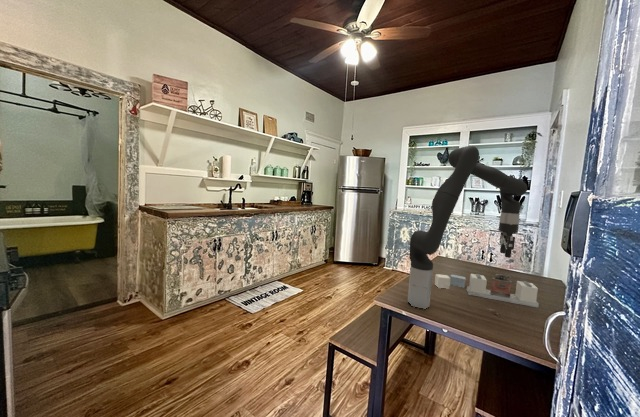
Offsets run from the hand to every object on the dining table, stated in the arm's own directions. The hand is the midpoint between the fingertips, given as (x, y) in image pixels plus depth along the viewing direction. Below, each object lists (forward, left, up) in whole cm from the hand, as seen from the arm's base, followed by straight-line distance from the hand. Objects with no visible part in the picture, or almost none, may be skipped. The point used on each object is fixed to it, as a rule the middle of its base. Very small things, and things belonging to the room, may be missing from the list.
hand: (505, 255), depth 123 cm
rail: (0, 0, -22) cm, 22 cm away
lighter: (0, 0, -20) cm, 20 cm away
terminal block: (+8, +18, -22) cm, 29 cm away
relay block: (+1, +26, -22) cm, 34 cm away
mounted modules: (0, 0, -20) cm, 20 cm away
